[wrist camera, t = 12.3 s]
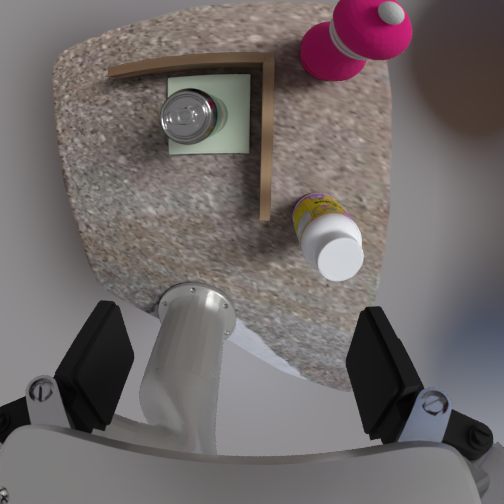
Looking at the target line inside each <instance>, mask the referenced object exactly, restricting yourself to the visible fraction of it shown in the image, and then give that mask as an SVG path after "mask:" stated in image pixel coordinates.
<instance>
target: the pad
mask: <svg viewBox="0 0 504 504" xmlns="http://www.w3.org/2000/svg"><path fill="white" fill-rule="evenodd" d="M186 88H195V89H199V90H202V91H204V92H206V93H209V94H211V95H213V96H215V97H217V98H219V99H220V100H222V101H223V103H224V104H225V105H226V107H227V111H228V119H227V122H226V125H225V126H224V128H223V129H222V130H221V131H219V132H218V133H216V134H214V135H212V136H211V137H209V138H207V139H205V140H203V141H201V142H199V143H196V144H191V145H183V144H179V143H176V142H174V141H172V140H171V139H170V138H169V155H175V154H201V153H249V128H250V74H219V75H198V76H185V77H174V78H168V97H169V96H170V95H172V94H173V93H175V92H177V91H179V90H181V89H186Z"/></svg>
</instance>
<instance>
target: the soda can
mask: <svg viewBox="0 0 504 504" xmlns="http://www.w3.org/2000/svg"><path fill="white" fill-rule="evenodd" d="M227 119H228V111H227V107H226V105H225V104H224V103H223V101H222V100H220V99H219V98H217V97H215V96H213V95H211V94H209V93H206V92H204V91H202V90H199V89H195V88H186V89H181V90H179V91H177V92H175V93H173V94H172V95H170V96H169V97H168V98H167V100H166V101H165V102H164V104H163V106H162V109H161V112H160V124H161V127H162V129H163V131H164V133H165V134H166V135H167V137H168V138H170V139H171V140H172V141H174V142H176V143H179V144H183V145H191V144H196V143H199V142H201V141H203V140H205V139H207V138H209V137H211V136H212V135H214V134H216V133H218V132H219V131H221V130H222V129H223V128H224V126H225V125H226V122H227Z"/></svg>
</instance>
